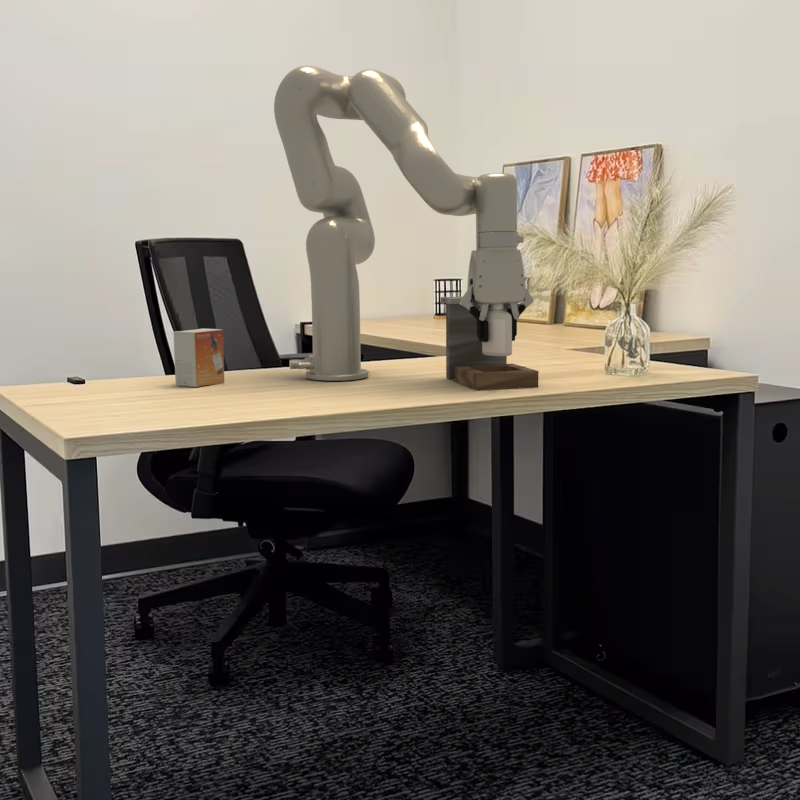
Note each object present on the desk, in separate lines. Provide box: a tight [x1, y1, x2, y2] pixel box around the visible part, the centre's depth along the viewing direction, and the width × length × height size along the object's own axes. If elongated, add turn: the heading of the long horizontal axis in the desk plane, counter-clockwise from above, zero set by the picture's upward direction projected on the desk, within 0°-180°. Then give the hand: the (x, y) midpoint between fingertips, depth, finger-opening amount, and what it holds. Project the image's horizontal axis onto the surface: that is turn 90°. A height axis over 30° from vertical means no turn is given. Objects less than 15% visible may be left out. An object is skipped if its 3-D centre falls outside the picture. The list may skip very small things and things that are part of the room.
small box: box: [173, 327, 225, 388], centre depth 186 cm, size 8×6×10 cm
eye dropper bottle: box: [482, 304, 513, 357], centre depth 181 cm, size 4×6×12 cm
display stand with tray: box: [440, 296, 540, 391], centre depth 184 cm, size 18×14×16 cm
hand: (496, 339), depth 181 cm, fingers closed on eye dropper bottle, 4 cm apart
